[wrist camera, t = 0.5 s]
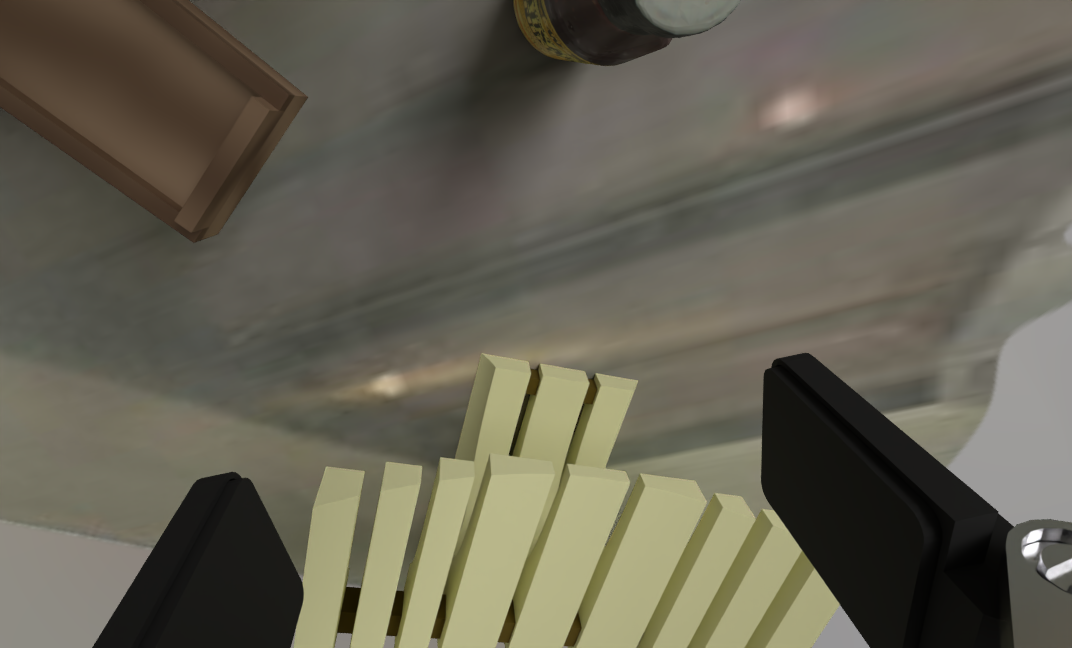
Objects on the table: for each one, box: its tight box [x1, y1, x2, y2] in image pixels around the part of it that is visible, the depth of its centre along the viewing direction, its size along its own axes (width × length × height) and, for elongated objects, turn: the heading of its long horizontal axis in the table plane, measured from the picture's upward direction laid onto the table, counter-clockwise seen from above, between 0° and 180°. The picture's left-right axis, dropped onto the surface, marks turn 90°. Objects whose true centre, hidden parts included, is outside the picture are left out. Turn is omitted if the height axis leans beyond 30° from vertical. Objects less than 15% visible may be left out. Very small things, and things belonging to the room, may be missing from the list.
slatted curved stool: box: [294, 353, 840, 648], centre depth 40 cm, size 30×16×18 cm, turn 75°
